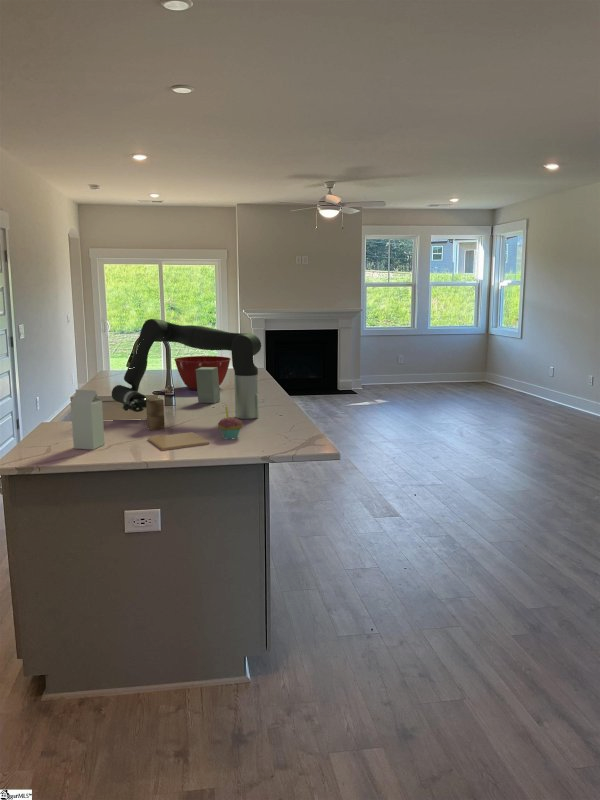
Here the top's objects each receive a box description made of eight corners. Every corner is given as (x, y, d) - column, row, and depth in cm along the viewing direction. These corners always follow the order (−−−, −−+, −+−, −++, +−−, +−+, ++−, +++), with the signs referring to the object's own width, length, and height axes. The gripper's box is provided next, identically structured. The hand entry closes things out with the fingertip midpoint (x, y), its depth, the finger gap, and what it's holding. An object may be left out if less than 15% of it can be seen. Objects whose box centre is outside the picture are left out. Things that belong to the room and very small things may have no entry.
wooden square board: (192, 434, 220) (192, 432, 220) (209, 444, 206) (209, 441, 206) (147, 439, 212) (147, 437, 212) (162, 450, 198) (162, 448, 198)
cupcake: (232, 441, 209) (231, 407, 207) (213, 438, 214) (212, 404, 211) (247, 436, 216) (247, 402, 214) (228, 433, 221) (227, 400, 219)
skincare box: (220, 401, 282) (219, 366, 279) (213, 404, 275) (212, 368, 272) (203, 400, 285) (202, 366, 282) (196, 403, 278) (195, 368, 275)
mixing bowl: (203, 382, 338) (202, 354, 335) (242, 387, 321) (242, 357, 318) (163, 389, 315) (162, 359, 312) (204, 394, 299) (203, 363, 296)
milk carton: (93, 450, 199) (89, 391, 196) (73, 449, 200) (69, 391, 197) (104, 444, 206) (101, 388, 202) (85, 443, 207) (81, 387, 204)
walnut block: (160, 426, 232) (159, 397, 230) (164, 429, 228) (163, 399, 226) (147, 428, 230) (145, 398, 228) (151, 430, 225) (150, 401, 223)
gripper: (116, 393, 246) (127, 399, 233) (152, 390, 253) (164, 396, 240) (117, 411, 248) (128, 419, 234) (152, 408, 255) (165, 415, 241)
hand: (146, 407), depth 237 cm, fingers open, 8 cm apart
